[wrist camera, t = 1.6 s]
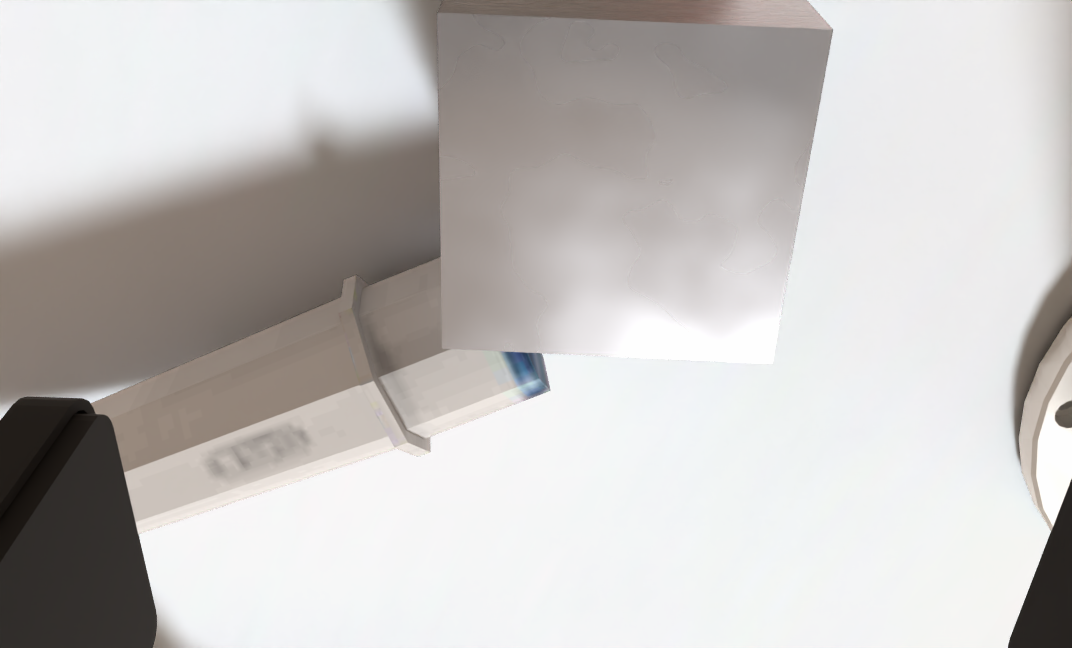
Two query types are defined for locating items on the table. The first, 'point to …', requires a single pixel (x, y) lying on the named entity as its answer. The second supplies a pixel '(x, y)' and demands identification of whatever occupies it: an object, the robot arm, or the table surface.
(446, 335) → the brushed grey cube
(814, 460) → the table surface
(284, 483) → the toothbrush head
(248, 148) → the table surface
